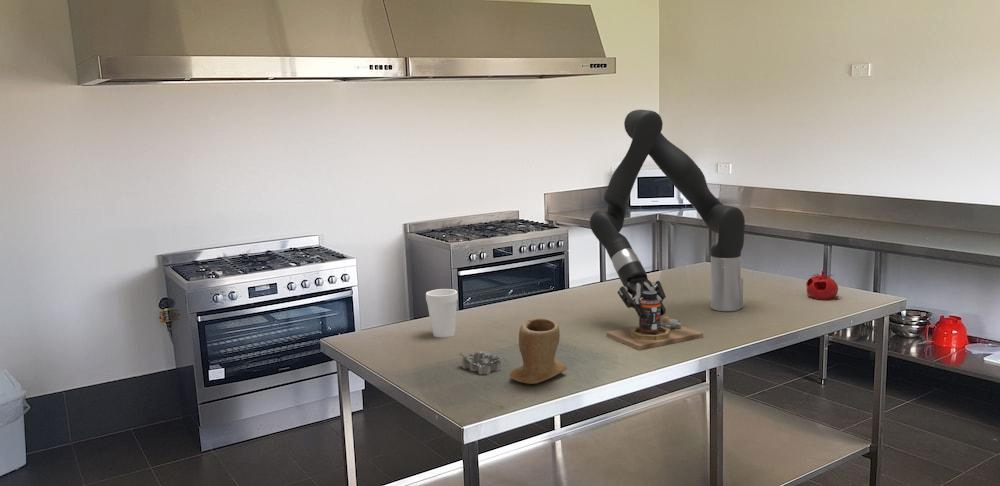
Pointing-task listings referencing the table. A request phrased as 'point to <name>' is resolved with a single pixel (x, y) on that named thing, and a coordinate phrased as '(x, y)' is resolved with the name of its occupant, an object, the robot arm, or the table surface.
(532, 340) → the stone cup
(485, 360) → the egg carton
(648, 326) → the supplement bottle
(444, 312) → the foam cup
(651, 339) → the board
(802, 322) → the table surface
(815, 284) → the pomegranate
